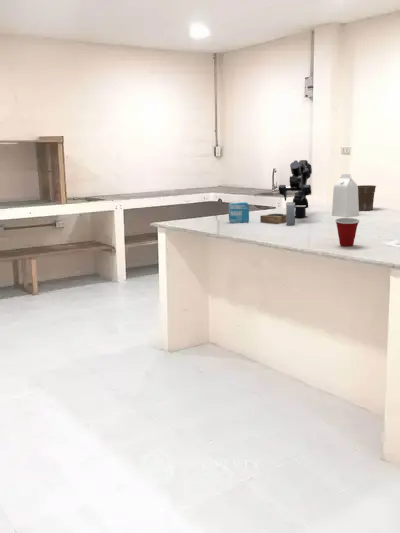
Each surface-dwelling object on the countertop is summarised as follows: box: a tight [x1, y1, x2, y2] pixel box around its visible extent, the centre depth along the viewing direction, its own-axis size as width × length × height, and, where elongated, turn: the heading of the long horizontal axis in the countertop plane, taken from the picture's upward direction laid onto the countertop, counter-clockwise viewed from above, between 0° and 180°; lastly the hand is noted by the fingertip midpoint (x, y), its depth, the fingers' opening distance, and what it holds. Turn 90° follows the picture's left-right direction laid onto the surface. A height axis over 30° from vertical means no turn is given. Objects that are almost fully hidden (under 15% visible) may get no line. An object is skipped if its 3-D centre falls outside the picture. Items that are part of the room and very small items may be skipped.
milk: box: [331, 173, 360, 218], centre depth 357 cm, size 12×12×26 cm
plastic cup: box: [334, 217, 360, 247], centre depth 258 cm, size 11×11×12 cm
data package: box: [228, 201, 250, 224], centre depth 346 cm, size 12×4×12 cm, turn 92°
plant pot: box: [357, 184, 377, 212], centre depth 382 cm, size 16×16×16 cm
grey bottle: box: [285, 201, 296, 227], centre depth 327 cm, size 5×5×13 cm
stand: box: [259, 213, 286, 225], centre depth 343 cm, size 13×13×4 cm
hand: (293, 200), depth 333 cm, fingers open, 9 cm apart
